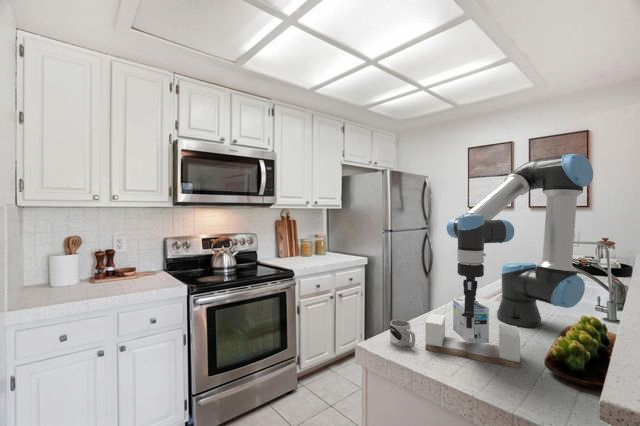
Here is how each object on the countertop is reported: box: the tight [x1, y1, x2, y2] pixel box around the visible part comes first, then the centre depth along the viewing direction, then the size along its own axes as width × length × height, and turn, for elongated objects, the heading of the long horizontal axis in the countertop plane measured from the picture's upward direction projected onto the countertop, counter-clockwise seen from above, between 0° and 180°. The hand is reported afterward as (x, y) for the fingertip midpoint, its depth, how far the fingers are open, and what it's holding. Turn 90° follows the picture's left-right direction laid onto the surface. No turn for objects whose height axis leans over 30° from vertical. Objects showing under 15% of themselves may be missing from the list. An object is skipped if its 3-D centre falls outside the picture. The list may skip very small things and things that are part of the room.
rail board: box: [425, 336, 521, 369], centre depth 99 cm, size 26×10×2 cm, turn 62°
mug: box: [389, 319, 416, 348], centre depth 105 cm, size 10×7×7 cm, turn 28°
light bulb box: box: [452, 298, 490, 344], centre depth 99 cm, size 11×7×11 cm, turn 1°
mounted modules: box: [425, 313, 521, 362], centre depth 99 cm, size 26×9×7 cm, turn 62°
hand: (470, 330), depth 99 cm, fingers closed on light bulb box, 12 cm apart
